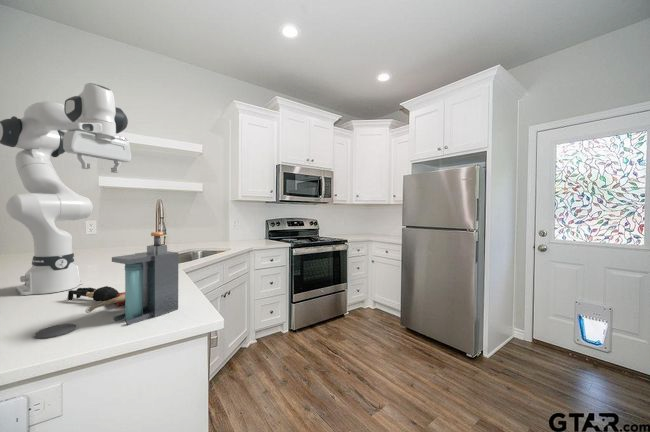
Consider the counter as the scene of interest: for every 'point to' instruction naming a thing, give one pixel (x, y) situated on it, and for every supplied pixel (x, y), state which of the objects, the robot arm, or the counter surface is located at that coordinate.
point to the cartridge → (133, 290)
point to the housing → (155, 281)
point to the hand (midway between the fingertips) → (100, 170)
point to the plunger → (157, 237)
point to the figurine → (99, 296)
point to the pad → (55, 331)
